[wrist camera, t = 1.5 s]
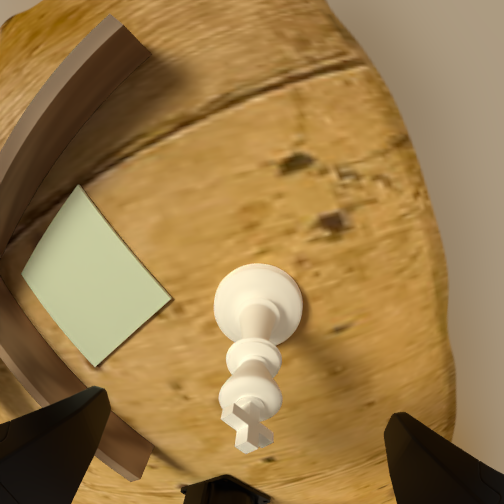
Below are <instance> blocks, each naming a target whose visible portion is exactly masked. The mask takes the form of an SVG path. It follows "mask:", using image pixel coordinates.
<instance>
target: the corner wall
mask: <svg viewBox="0 0 504 504" xmlns="http://www.w3.org/2000/svg"><path fill="white" fill-rule="evenodd" d="M151 55H152V54H151V53H150V52H149V51H148V50H147V49H146V48H145V47H144V46H143V45H142V44H141V43H140V42H139V41H138V40H137V39H136V37H135V36H134V35H133V34H132V33H131V32H130V31H129V30H128V29H127V28H126V27H125V26H124V25H123V24H122V23H120V22H119V21H118V20H117V19H116V18H114V17H113V16H112V15H111V14H109V15H108V16H107V17H106V18H105V19H104V20H102V21H101V22H100V23H99V24H98V25H97V26H96V27H95V28H94V29H93V30H92V31H91V32H90V33H89V34H88V35H87V36H86V37H85V38H84V39H83V40H82V41H81V42H80V43H79V44H78V45H77V46H76V47H75V48H74V49H73V50H72V52H71V53H70V54H69V55H68V56H67V57H66V58H65V59H64V61H63V62H62V63H61V64H60V65H59V66H58V68H57V69H56V70H55V71H54V72H53V74H52V75H51V76H50V77H49V79H48V80H47V81H46V82H45V84H44V85H43V86H42V88H41V89H40V90H39V92H38V93H37V94H36V96H35V97H34V99H33V100H32V101H31V103H30V104H29V106H28V107H27V109H26V110H25V112H24V113H23V115H22V116H21V118H20V119H19V121H18V123H17V124H16V126H15V127H14V129H13V131H12V132H11V134H10V136H9V137H8V139H7V141H6V143H5V144H4V146H3V148H2V150H1V152H0V259H1V257H2V254H3V252H4V250H5V248H6V246H7V244H8V242H9V239H10V237H11V235H12V233H13V231H14V229H15V228H16V226H17V224H18V222H19V220H20V218H21V216H22V214H23V213H24V211H25V209H26V207H27V205H28V204H29V202H30V200H31V199H32V197H33V195H34V194H35V192H36V190H37V189H38V187H39V186H40V184H41V182H42V181H43V179H44V178H45V176H46V175H47V173H48V172H49V170H50V169H51V167H52V166H53V164H54V163H55V161H56V160H57V159H58V157H59V156H60V154H61V153H62V152H63V150H64V149H65V148H66V146H67V145H68V144H69V142H70V141H71V140H72V138H73V137H74V136H75V135H76V133H77V132H78V131H79V130H80V128H81V127H82V126H83V125H84V123H85V122H86V121H87V120H88V119H89V117H90V116H91V115H92V114H93V113H94V112H95V110H96V109H97V108H98V107H99V106H100V105H101V104H102V103H103V102H104V100H105V99H106V98H107V97H108V96H109V95H110V94H111V93H112V92H113V91H114V90H115V89H116V88H117V87H118V86H119V85H120V84H121V83H122V82H123V81H124V80H125V79H126V78H127V77H128V76H129V75H130V74H131V73H132V72H133V71H134V70H135V69H136V68H137V67H138V66H139V65H140V64H142V63H143V62H144V61H145V60H146V59H147V58H148V57H149V56H151ZM0 358H1V359H2V360H3V362H4V363H5V364H6V366H7V367H8V368H9V370H10V371H11V372H12V373H13V375H14V376H15V377H16V378H17V380H18V381H19V382H20V383H21V384H22V386H23V387H24V388H25V389H26V390H27V391H28V393H29V394H30V395H31V396H32V397H33V398H34V399H35V400H36V402H37V403H38V404H39V405H40V406H41V407H42V408H43V407H46V406H48V405H51V404H53V403H55V402H58V401H60V400H63V399H65V398H67V397H69V396H72V395H74V394H76V393H79V392H81V391H83V390H85V389H88V388H87V387H86V386H85V385H84V384H83V383H82V382H81V381H80V380H79V379H78V378H77V377H76V376H75V375H74V374H73V373H72V372H71V371H70V370H69V368H68V367H67V366H66V365H65V364H64V363H63V362H62V361H61V360H60V358H59V357H58V356H57V355H56V354H55V353H54V351H53V350H52V349H51V348H50V347H49V345H48V344H47V343H46V342H45V340H44V339H43V338H42V337H41V335H40V334H39V333H38V331H37V330H36V329H35V328H34V326H33V325H32V323H31V322H30V321H29V319H28V318H27V317H26V315H25V314H24V312H23V311H22V310H21V308H20V307H19V305H18V304H17V302H16V301H15V299H14V298H13V296H12V295H11V293H10V292H9V290H8V288H7V287H6V285H5V284H4V282H3V280H2V279H1V277H0ZM153 448H154V445H152V444H151V443H150V442H148V441H147V440H146V439H144V438H143V437H142V436H141V435H139V434H138V433H137V432H136V431H134V430H133V429H132V428H131V427H129V426H128V425H127V424H126V423H125V422H123V421H122V420H121V419H120V418H119V417H118V416H116V415H115V414H114V413H113V412H112V411H111V413H110V416H109V418H108V421H107V424H106V427H105V429H104V432H103V435H102V438H101V441H100V443H99V446H98V449H97V451H96V453H95V455H94V456H96V457H97V458H98V459H100V460H101V461H102V462H103V463H105V464H106V465H107V466H109V467H110V468H111V469H113V470H114V471H116V472H117V473H118V474H120V475H121V476H123V477H124V478H126V479H127V480H129V481H130V482H132V481H136V480H140V479H141V477H142V474H143V472H144V469H145V467H146V465H147V462H148V460H149V457H150V455H151V453H152V450H153Z"/></svg>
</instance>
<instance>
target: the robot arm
mask: <svg viewBox="0 0 504 504" xmlns="http://www.w3.org/2000/svg"><path fill="white" fill-rule="evenodd" d="M110 413H111V406H110V402H109V399H108V395H107V391H106V390H105V389H104V388H101V387H97V386H92V387H90V388H88V389H85V390H83V391H81V392H79V393H76V394H74V395H72V396H69V397H67V398H65V399H63V400H60V401H58V402H55V403H53V404H51V405H48V406H46V407H43V408H41V409H39V410H36V411H34V412H31V413H29V414H26V415H24V416H21V417H19V418H16V419H13V420H11V422H10V421H8V422H5V423H3V424H0V504H71V503H72V501H73V498H74V496H75V494H76V492H77V490H78V488H79V486H80V483H81V481H82V479H83V477H84V475H85V473H86V471H87V469H88V467H89V465H90V463H91V461H92V459H93V457H94V455H95V453H96V451H97V449H98V446H99V443H100V441H101V438H102V435H103V432H104V429H105V427H106V424H107V421H108V418H109V416H110ZM384 441H385V447H386V453H387V460H388V467H389V473H390V478H391V482H392V485H393V489H394V493H395V497H396V501H397V504H504V474H502V473H500V472H498V471H496V470H494V469H493V468H491V467H489V466H487V465H486V464H484V463H483V462H481V461H479V460H478V459H476V458H474V457H473V456H471V455H470V454H468V453H466V452H465V451H463V450H462V449H460V448H459V447H457V446H456V445H454V444H452V443H451V442H449V441H448V440H446V439H445V438H443V437H442V436H440V435H439V434H437V433H436V432H434V431H433V430H431V429H430V428H428V427H427V426H425V425H424V424H422V423H421V422H419V421H418V420H416V419H415V418H413V417H412V416H411V415H409V414H408V413H406V412H398V413H394V414H393V415H392V416H391V418H390V420H389V422H388V424H387V426H386V428H385V431H384ZM181 493H183V494H185V499H184V503H183V504H267V503H270V497H268V496H266V495H264V494H262V493H260V492H258V491H256V490H254V489H252V488H250V487H248V486H246V485H245V484H243V483H241V482H239V481H237V480H236V479H234V478H232V477H230V476H228V475H221V476H218V477H215V478H212V479H209V480H206V481H203V482H199V483H196V484H193V485H189V486H185V487H182V488H181Z"/></svg>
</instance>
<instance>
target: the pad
mask: <svg viewBox="0 0 504 504" xmlns="http://www.w3.org/2000/svg"><path fill="white" fill-rule="evenodd" d="M21 275H22V276H23V278H24V279H25V281H26V282H27V284H28V285H29V287H30V288H31V290H32V291H33V292H34V294H35V295H36V297H37V298H38V299H39V301H40V302H41V304H42V305H43V306H44V308H45V309H46V310H47V312H48V313H49V314H50V316H51V317H52V318H53V319H54V321H55V322H56V323H57V325H58V326H59V327H60V328H61V329H62V331H63V332H64V333H65V334H66V336H67V337H68V338H69V339H70V340H71V341H72V343H73V344H74V345H75V346H76V347H77V348H78V349H79V351H80V352H81V353H82V354H83V355H84V356H85V357H86V358H87V359H88V360H89V361H90V363H91V364H92V365H93V366H94V367H96V366H97V365H98V364H99V363H100V362H101V361H102V360H103V359H104V358H106V357H107V356H108V355H109V354H110V353H111V352H112V351H113V350H114V349H115V348H117V347H118V346H119V345H120V344H121V343H122V342H123V341H124V340H125V339H127V338H128V337H129V336H130V335H131V334H132V333H133V332H134V331H135V330H137V329H138V328H139V327H140V326H141V325H142V324H143V323H144V322H145V321H147V320H148V319H149V318H150V317H151V316H152V315H153V314H154V313H156V312H157V311H158V310H159V309H160V308H161V307H162V306H163V305H165V304H166V303H167V302H168V301H169V300H170V299H171V298H172V297H171V296H170V295H169V294H168V293H167V291H166V290H165V289H164V288H163V287H162V286H161V285H160V284H159V283H158V281H157V280H156V279H155V278H154V277H153V276H152V275H151V274H150V272H149V271H148V270H147V269H146V268H145V267H144V265H143V264H142V263H141V262H140V261H139V260H138V258H137V257H136V256H135V255H134V254H133V252H132V251H131V250H130V249H129V248H128V246H127V245H126V244H125V243H124V242H123V240H122V239H121V238H120V237H119V235H118V234H117V233H116V232H115V230H114V229H113V228H112V227H111V225H110V224H109V223H108V222H107V220H106V219H105V218H104V216H103V215H102V214H101V213H100V211H99V210H98V209H97V207H96V206H95V205H94V203H93V202H92V201H91V199H90V198H89V197H88V195H87V194H86V193H85V191H84V190H83V188H82V187H81V186H80V185H77V187H76V188H75V189H74V191H73V192H72V193H71V195H70V196H69V197H68V199H67V200H66V202H65V203H64V204H63V206H62V207H61V209H60V210H59V212H58V213H57V215H56V216H55V218H54V219H53V221H52V222H51V224H50V225H49V227H48V228H47V230H46V232H45V233H44V235H43V236H42V238H41V240H40V241H39V243H38V245H37V246H36V248H35V250H34V251H33V253H32V255H31V257H30V258H29V260H28V262H27V264H26V266H25V268H24V269H23V271H22V273H21Z"/></svg>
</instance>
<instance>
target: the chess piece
mask: <svg viewBox="0 0 504 504" xmlns="http://www.w3.org/2000/svg"><path fill="white" fill-rule="evenodd" d="M302 309H303V300H302V295H301V292H300V289H299V287H298V285H297V284H296V282H295V281H294V280H293V278H292V277H291V276H290V275H288V274H287V273H286V272H285V271H283V270H281V269H279V268H277V267H275V266H272V265H268V264H259V263H256V264H248V265H244V266H241V267H239V268H237V269H235V270H233V271H232V272H230V273H229V274H228V275H227V276H226V277H225V278H224V279H223V280H222V281H221V283H220V284H219V286H218V288H217V291H216V294H215V299H214V314H215V318H216V321H217V324H218V326H219V327H220V329H221V330H222V332H223V333H224V334H225V335H226V336H227V337H228V338H229V339H231V340H232V341H233V342H235V343H234V344H233V345H232V346H231V347H230V348H229V350H228V352H227V355H226V363H227V366H228V369H229V371H230V373H231V374H232V376H231V377H230V378H229V379H228V380H227V381H226V382H225V383H224V385H223V386H222V388H221V390H220V393H219V402H220V405H221V407H222V409H223V411H222V416H221V420H223V421H224V422H225V423H227V424H228V425H229V426H231V427H232V428H233V429H235V430H236V431H237V434H236V441H235V447H236V448H237V449H239V450H240V451H242V452H243V453H245V454H247V453H250V452H252V451H254V450H256V449H258V446H259V447H261V448H263V447H265V446H267V445H269V444H272V443H273V432H272V431H271V430H269V429H268V428H266V427H265V426H264V425H262V424H261V423H260V421H264V420H267V419H269V418H271V417H272V416H274V415H275V414H276V413H277V412H278V411H279V409H280V407H281V405H282V394H281V391H280V389H279V387H278V385H277V383H276V382H275V381H274V379H273V377H275V376H276V374H277V373H278V371H279V369H280V367H281V363H282V357H281V354H280V351H279V350H278V348H277V347H276V345H278V344H280V343H282V342H284V341H285V340H286V339H288V338H289V337H290V336H291V335H292V334H293V333H294V331H295V330H296V329H297V327H298V325H299V323H300V320H301V316H302Z"/></svg>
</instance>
